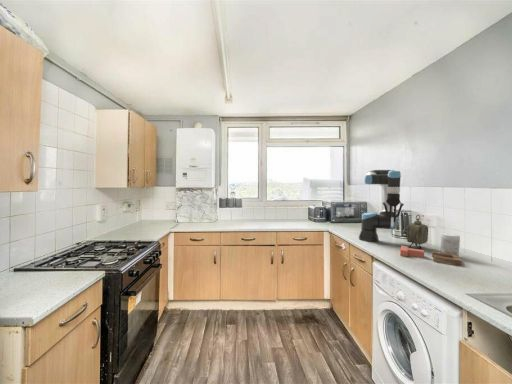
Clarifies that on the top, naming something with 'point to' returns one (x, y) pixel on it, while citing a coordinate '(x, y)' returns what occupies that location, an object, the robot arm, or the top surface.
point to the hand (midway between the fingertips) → (392, 226)
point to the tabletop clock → (417, 233)
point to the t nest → (446, 258)
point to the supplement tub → (450, 243)
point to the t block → (411, 252)
